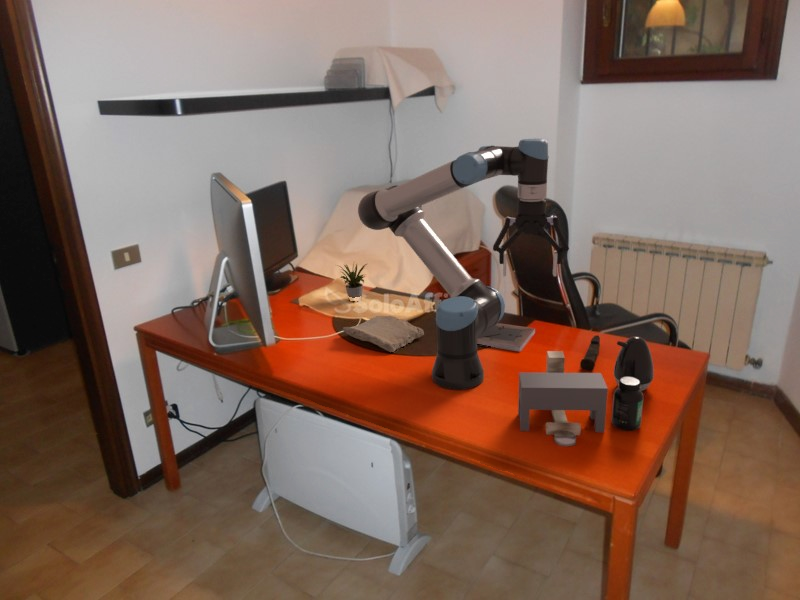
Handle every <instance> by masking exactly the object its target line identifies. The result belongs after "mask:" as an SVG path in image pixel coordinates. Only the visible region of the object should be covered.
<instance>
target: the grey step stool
mask: <svg viewBox="0 0 800 600" xmlns="http://www.w3.org/2000/svg"><path fill="white" fill-rule="evenodd" d="M608 391H609V389H608V386H607V383H606V381H605V379H604V377H603V375H602V373H601V372H564V373H546V372H520V371H519V372H518V401H517V402H518V405H517V406H518V407H517V408H518V409H517V412H518V413H517V414H518V419H519V429H520V431H521V432H529V431H530V411H536V410H538V411H551V410H564V411H589V416H590V420H594V426H593V428H594V431H595V433H605V427H606V415H607V402H608Z"/></svg>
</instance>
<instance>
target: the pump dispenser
mask: <svg viewBox="0 0 800 600" xmlns="http://www.w3.org/2000/svg"><path fill="white" fill-rule="evenodd" d="M616 344H617V346H620V347H621V348H620V350H619V352H618V354H617V356H616V360H615V364H614V367H613V368H614V369H613V376H614V378H615V383H616V384H617V385H618V384H619V380H620V378H621V377H634V378H636V379H638V380H640V391H641V392H643V391H645V390H647V389H648V387H650V385H651V383H652V381H653V380H654V371H655V370H654V362H653V357H652V353H651V349H650V347H649V345H648V343H647V341H646V340H645V339H644V338H643V337H641V336H638V335H637V336H630V337H629V338H627V339H626V340H625V342H624V341H620V340H617V342H616Z"/></svg>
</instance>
